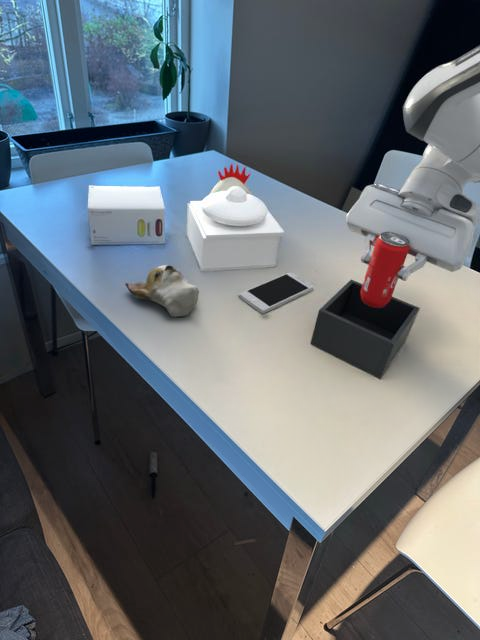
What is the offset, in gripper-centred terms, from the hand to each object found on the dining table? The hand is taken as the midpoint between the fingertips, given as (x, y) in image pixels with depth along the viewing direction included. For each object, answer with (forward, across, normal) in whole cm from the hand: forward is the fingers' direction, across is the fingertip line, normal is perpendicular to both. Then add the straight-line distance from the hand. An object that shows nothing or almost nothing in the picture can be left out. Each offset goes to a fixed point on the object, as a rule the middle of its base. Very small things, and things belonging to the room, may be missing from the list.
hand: (382, 270), depth 73 cm
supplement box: (+15, -61, +8) cm, 63 cm away
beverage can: (+4, 0, +5) cm, 7 cm away
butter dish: (+6, -39, +17) cm, 43 cm away
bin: (+11, 0, +12) cm, 16 cm away
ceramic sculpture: (+24, -33, -1) cm, 40 cm away
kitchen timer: (-3, -50, +26) cm, 56 cm away
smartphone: (+10, -20, +13) cm, 26 cm away
